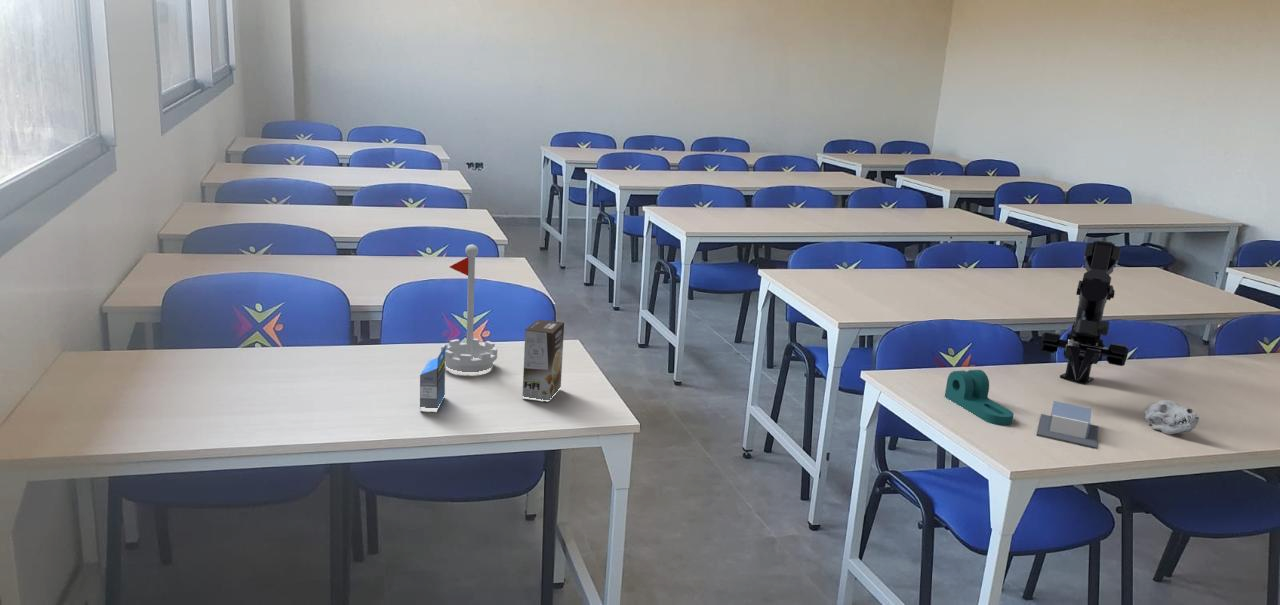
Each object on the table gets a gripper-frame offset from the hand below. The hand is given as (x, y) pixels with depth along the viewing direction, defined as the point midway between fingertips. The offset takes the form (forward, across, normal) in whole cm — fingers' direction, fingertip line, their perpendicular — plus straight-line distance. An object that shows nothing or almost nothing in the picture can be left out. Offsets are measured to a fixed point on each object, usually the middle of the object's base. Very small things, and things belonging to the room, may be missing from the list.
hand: (1077, 379), depth 219 cm
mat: (+16, 0, -5) cm, 17 cm away
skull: (+6, +20, +6) cm, 22 cm away
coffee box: (+52, -106, -42) cm, 125 cm away
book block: (+9, 0, -1) cm, 9 cm away
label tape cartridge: (+65, -121, -55) cm, 148 cm away
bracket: (+15, -19, -4) cm, 25 cm away
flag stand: (+49, -129, -39) cm, 143 cm away
